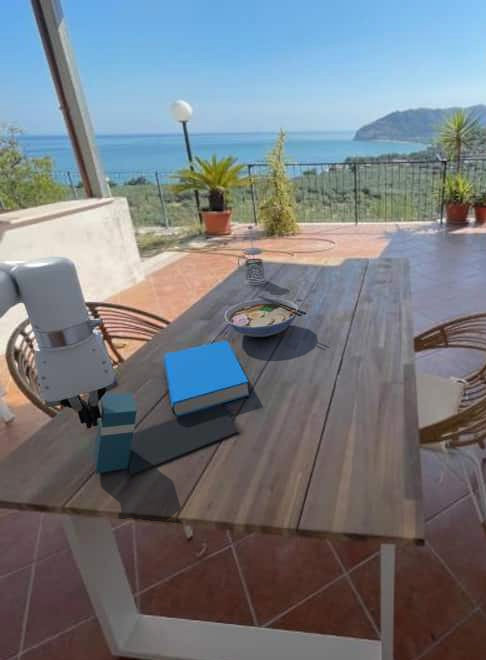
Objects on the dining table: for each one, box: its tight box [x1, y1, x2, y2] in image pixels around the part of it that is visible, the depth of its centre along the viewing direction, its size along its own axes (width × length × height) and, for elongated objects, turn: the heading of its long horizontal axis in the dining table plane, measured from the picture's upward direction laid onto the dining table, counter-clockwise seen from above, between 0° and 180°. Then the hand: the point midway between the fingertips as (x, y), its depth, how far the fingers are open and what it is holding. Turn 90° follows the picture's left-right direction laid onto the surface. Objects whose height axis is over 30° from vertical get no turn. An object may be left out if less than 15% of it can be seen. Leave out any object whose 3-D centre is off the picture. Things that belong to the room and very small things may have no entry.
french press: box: [237, 225, 268, 286], centre depth 169 cm, size 10×12×25 cm
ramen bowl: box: [224, 294, 307, 338], centre depth 125 cm, size 25×23×8 cm
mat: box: [128, 403, 239, 477], centre depth 81 cm, size 20×12×1 cm, turn 125°
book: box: [163, 340, 251, 418], centre depth 99 cm, size 17×4×25 cm
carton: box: [93, 392, 138, 474], centre depth 73 cm, size 5×7×12 cm
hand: (92, 422), depth 70 cm, fingers closed
